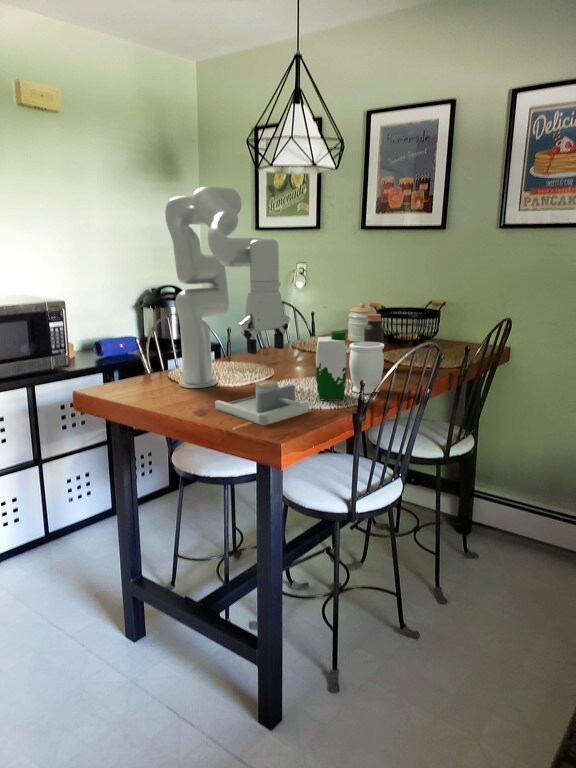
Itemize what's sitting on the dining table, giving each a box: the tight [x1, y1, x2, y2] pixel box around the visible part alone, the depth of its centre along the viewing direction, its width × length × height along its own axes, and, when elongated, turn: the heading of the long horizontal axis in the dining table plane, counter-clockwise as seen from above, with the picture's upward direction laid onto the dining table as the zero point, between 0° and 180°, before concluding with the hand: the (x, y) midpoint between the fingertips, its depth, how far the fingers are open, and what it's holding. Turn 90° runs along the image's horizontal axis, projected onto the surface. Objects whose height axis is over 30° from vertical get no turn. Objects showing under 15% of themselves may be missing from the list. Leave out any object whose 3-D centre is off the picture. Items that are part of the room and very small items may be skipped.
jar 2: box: [348, 342, 385, 395], centre depth 177 cm, size 11×10×15 cm
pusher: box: [258, 384, 301, 413], centre depth 151 cm, size 9×12×6 cm
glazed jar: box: [254, 379, 280, 412], centre depth 157 cm, size 6×6×8 cm
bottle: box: [364, 313, 384, 353], centre depth 206 cm, size 7×7×20 cm
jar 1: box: [347, 302, 375, 343], centre depth 266 cm, size 13×13×18 cm
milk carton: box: [315, 330, 347, 400], centre depth 170 cm, size 9×9×20 cm
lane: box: [214, 394, 309, 426], centre depth 160 cm, size 21×16×3 cm
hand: (265, 350), depth 154 cm, fingers open, 9 cm apart
